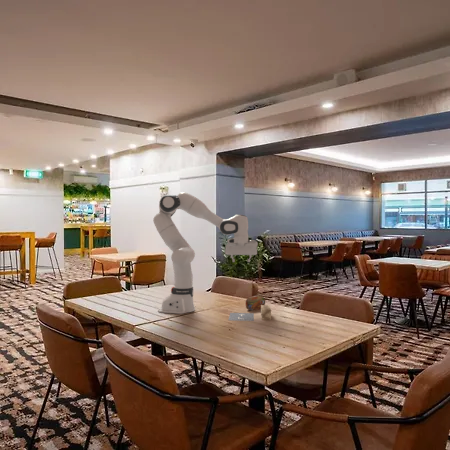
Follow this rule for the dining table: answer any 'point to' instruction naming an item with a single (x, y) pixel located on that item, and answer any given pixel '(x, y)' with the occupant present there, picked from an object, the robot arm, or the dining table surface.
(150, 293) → the dining table surface
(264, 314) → the oak block
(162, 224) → the robot arm
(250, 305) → the tin
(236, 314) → the card
